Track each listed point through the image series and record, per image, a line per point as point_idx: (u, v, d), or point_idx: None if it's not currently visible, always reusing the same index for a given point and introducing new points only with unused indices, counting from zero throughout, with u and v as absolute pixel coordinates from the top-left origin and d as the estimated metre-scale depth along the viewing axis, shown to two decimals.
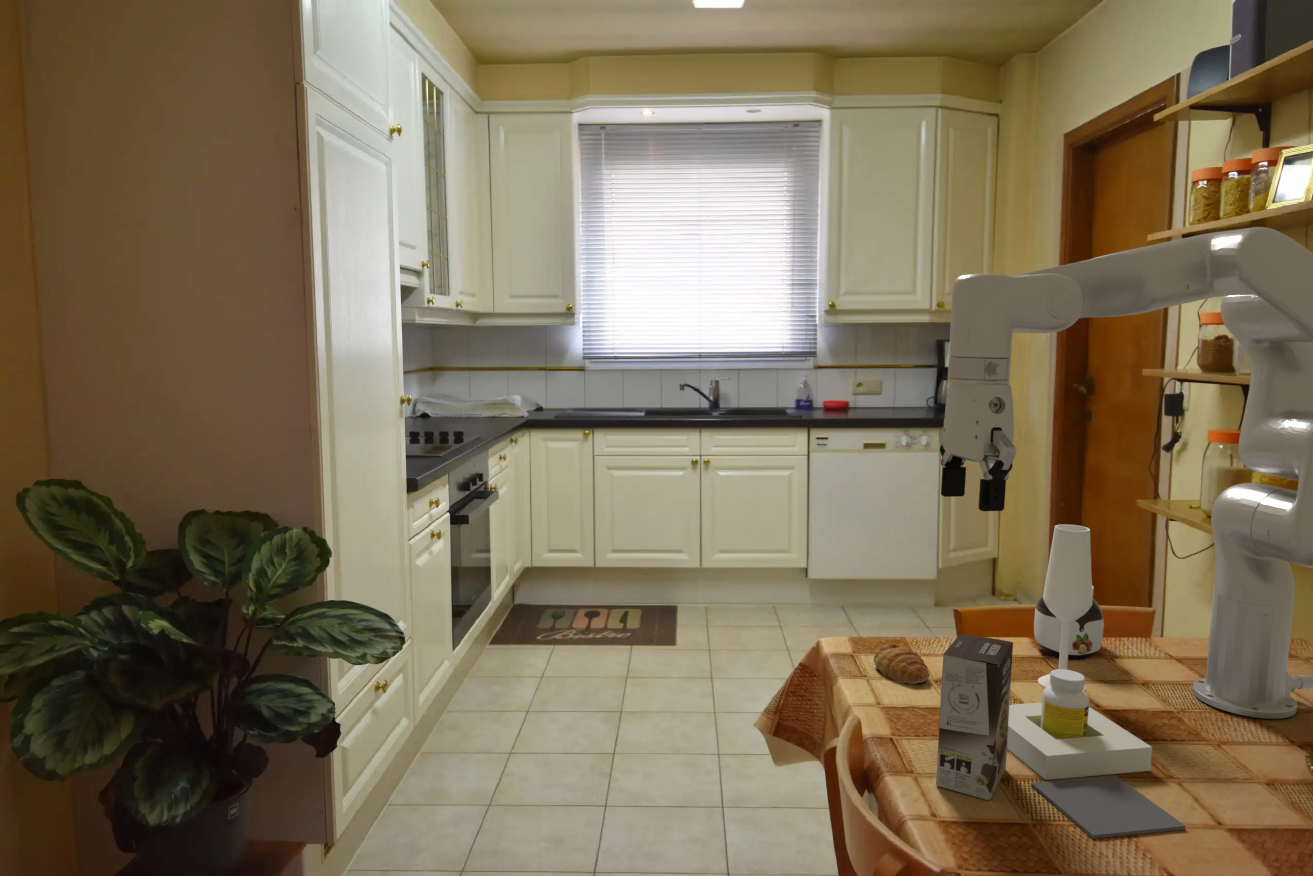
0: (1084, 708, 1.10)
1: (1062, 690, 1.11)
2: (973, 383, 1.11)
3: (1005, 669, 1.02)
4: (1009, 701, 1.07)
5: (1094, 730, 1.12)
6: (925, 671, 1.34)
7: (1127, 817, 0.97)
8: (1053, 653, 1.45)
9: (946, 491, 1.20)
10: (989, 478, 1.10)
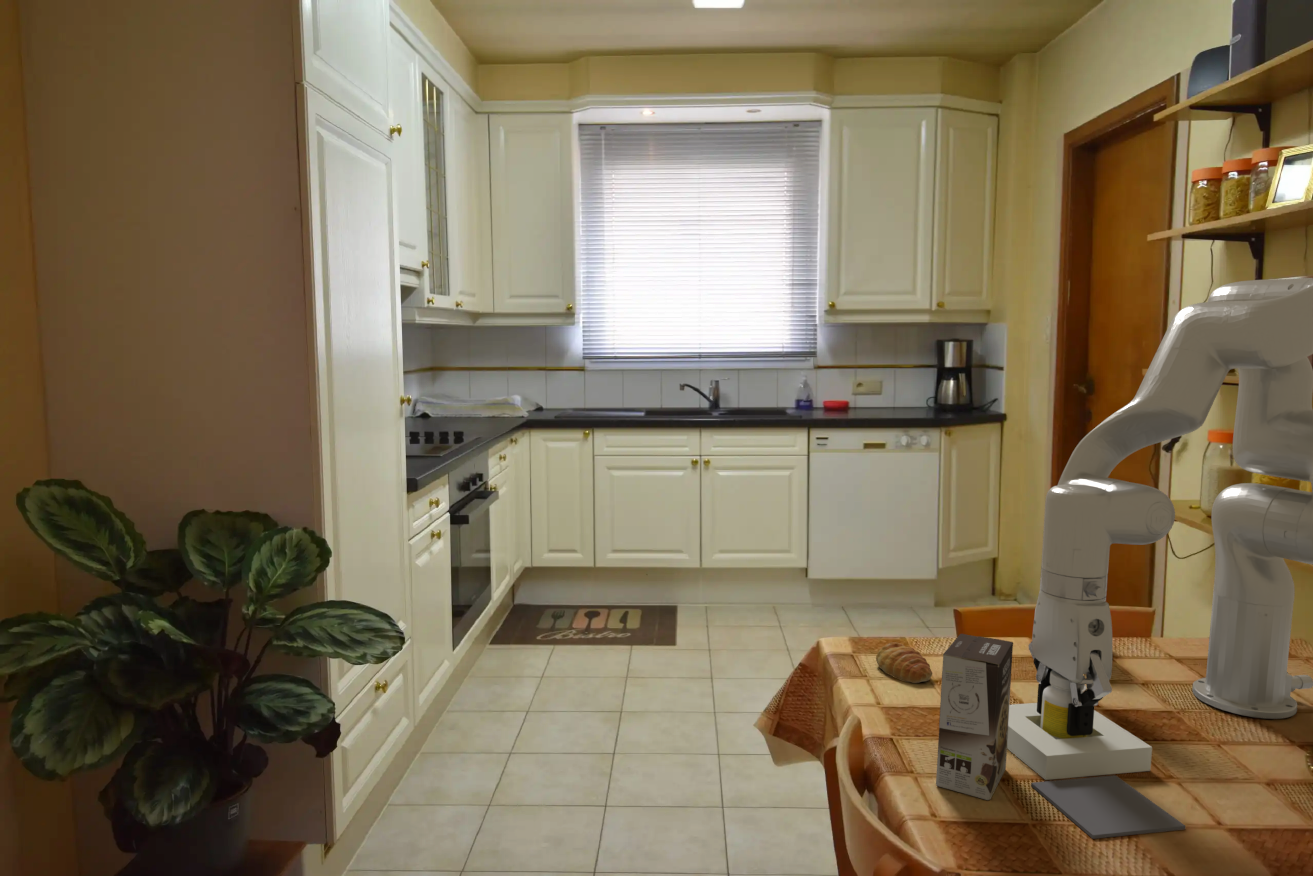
0: None
1: (1062, 690, 1.11)
2: (1070, 602, 1.08)
3: (1005, 669, 1.02)
4: (1009, 701, 1.07)
5: (1094, 730, 1.12)
6: (928, 670, 1.34)
7: (1127, 817, 0.97)
8: None
9: None
10: (1079, 705, 1.08)
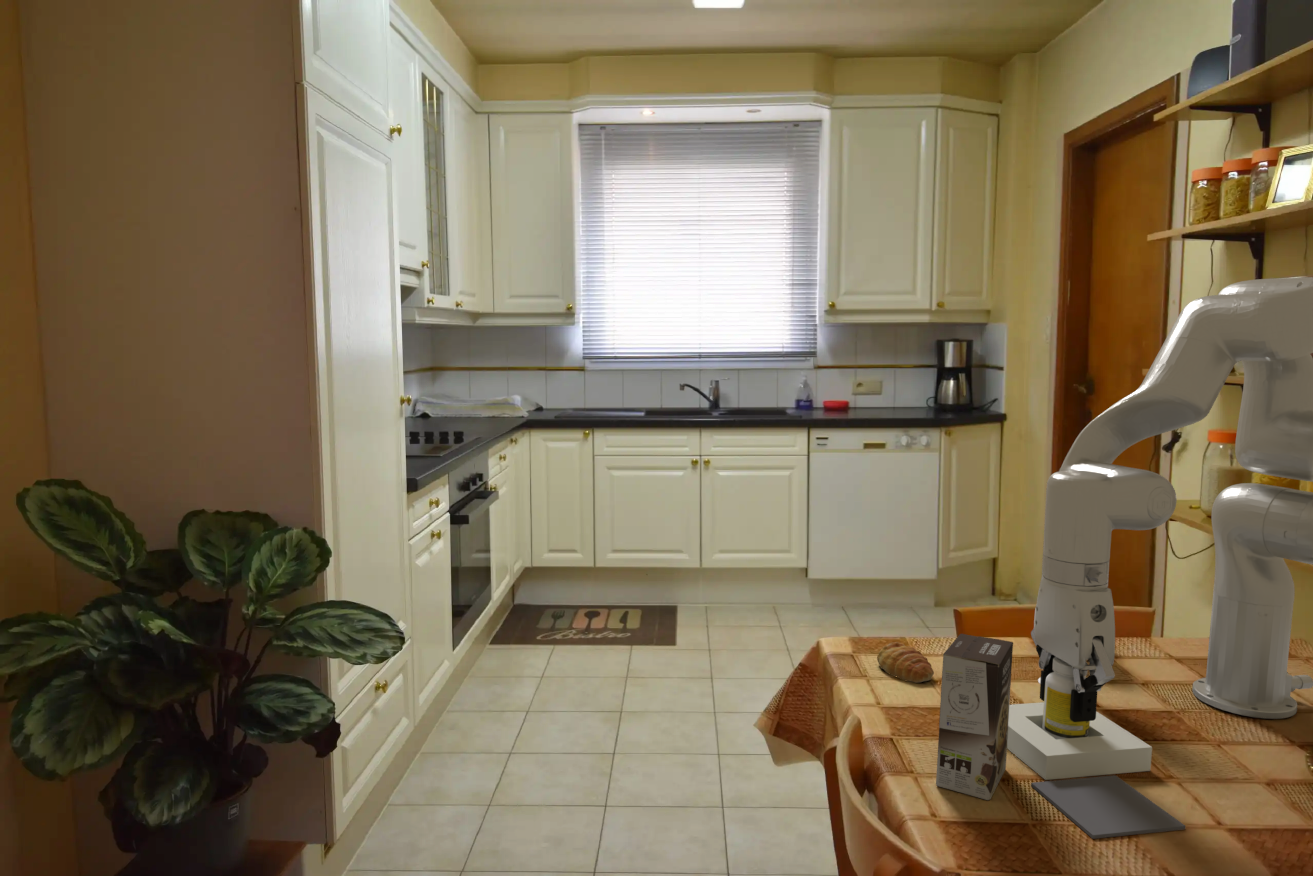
0: None
1: (1065, 677, 1.11)
2: (1072, 588, 1.08)
3: (1005, 669, 1.02)
4: (1009, 701, 1.07)
5: (1094, 730, 1.12)
6: (930, 669, 1.35)
7: (1127, 817, 0.97)
8: None
9: None
10: (1082, 691, 1.08)
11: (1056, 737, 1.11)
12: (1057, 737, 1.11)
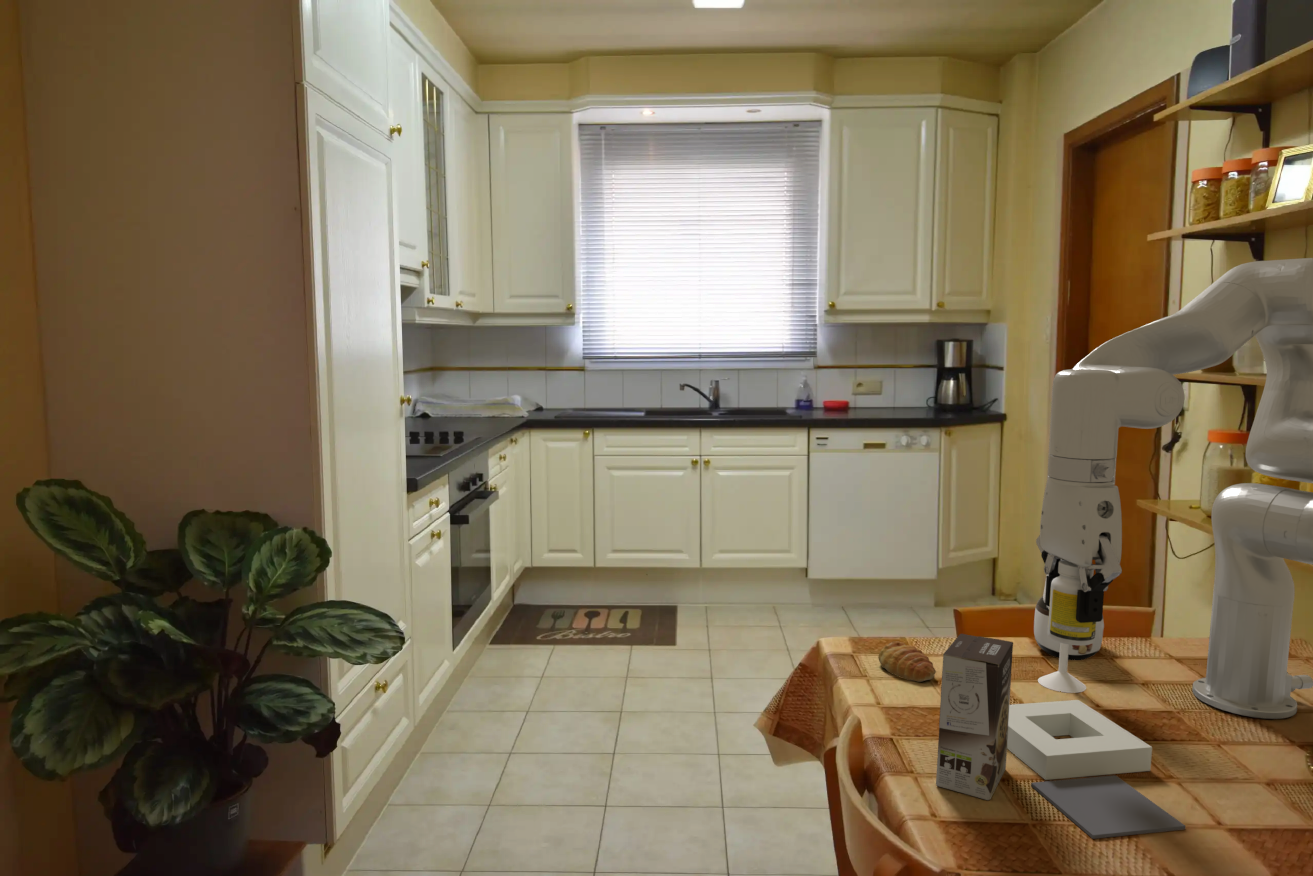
0: None
1: (1070, 578, 1.09)
2: (1079, 485, 1.06)
3: (1005, 669, 1.02)
4: (1009, 701, 1.07)
5: (1094, 730, 1.12)
6: (932, 668, 1.35)
7: (1127, 817, 0.97)
8: (1053, 653, 1.45)
9: None
10: (1088, 590, 1.06)
11: (1062, 640, 1.10)
12: (1063, 640, 1.10)
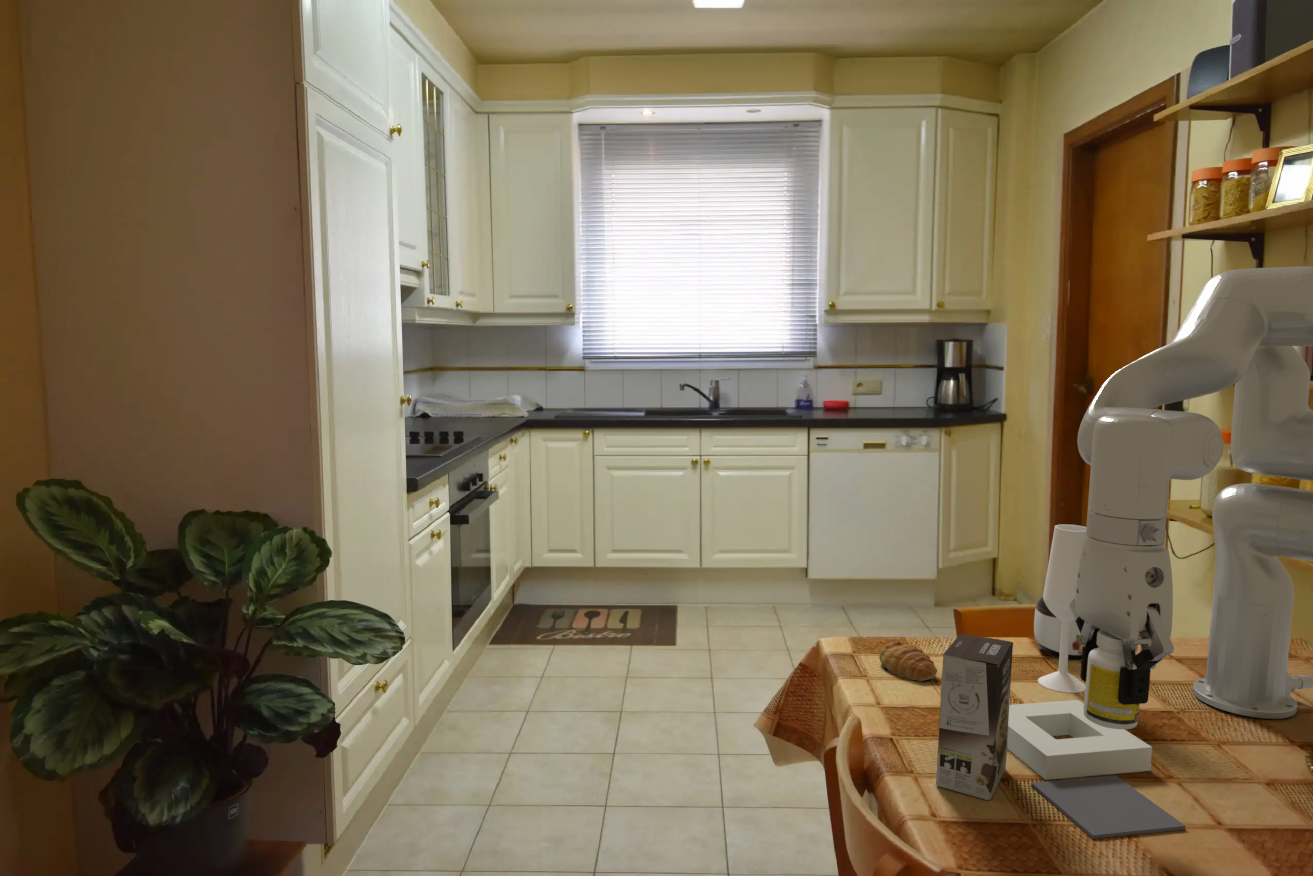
0: None
1: (1112, 652, 0.96)
2: (1124, 549, 0.93)
3: (1005, 669, 1.02)
4: (1009, 701, 1.07)
5: (1094, 730, 1.12)
6: (934, 668, 1.35)
7: (1127, 817, 0.97)
8: (1053, 653, 1.45)
9: None
10: (1133, 669, 0.93)
11: (1101, 722, 0.96)
12: (1102, 722, 0.96)
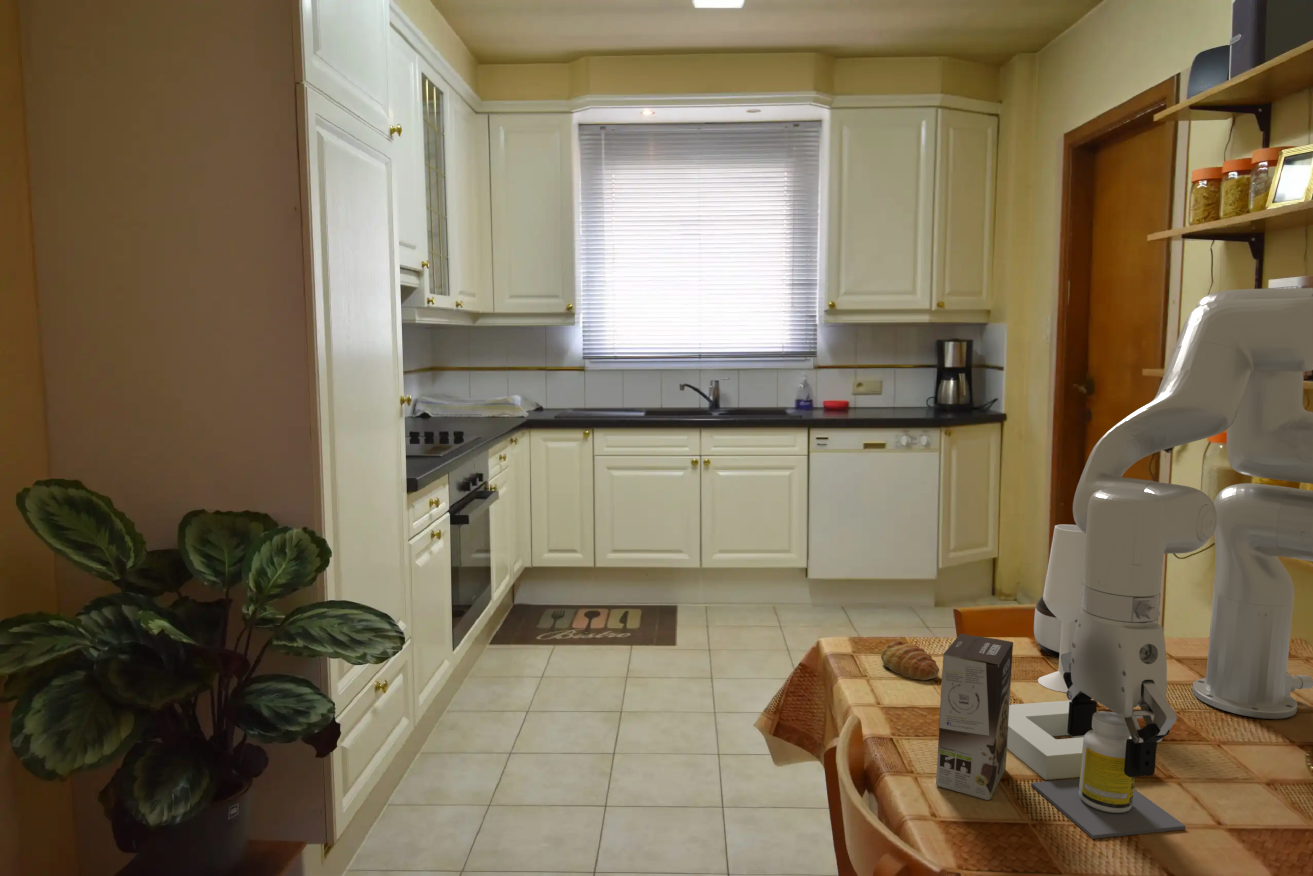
0: None
1: (1107, 737, 0.97)
2: (1118, 625, 0.94)
3: (1005, 669, 1.02)
4: (1009, 701, 1.07)
5: None
6: (936, 667, 1.36)
7: (1127, 817, 0.97)
8: (1053, 653, 1.45)
9: (1074, 731, 1.03)
10: (1139, 742, 0.92)
11: (1096, 806, 0.98)
12: (1097, 806, 0.98)
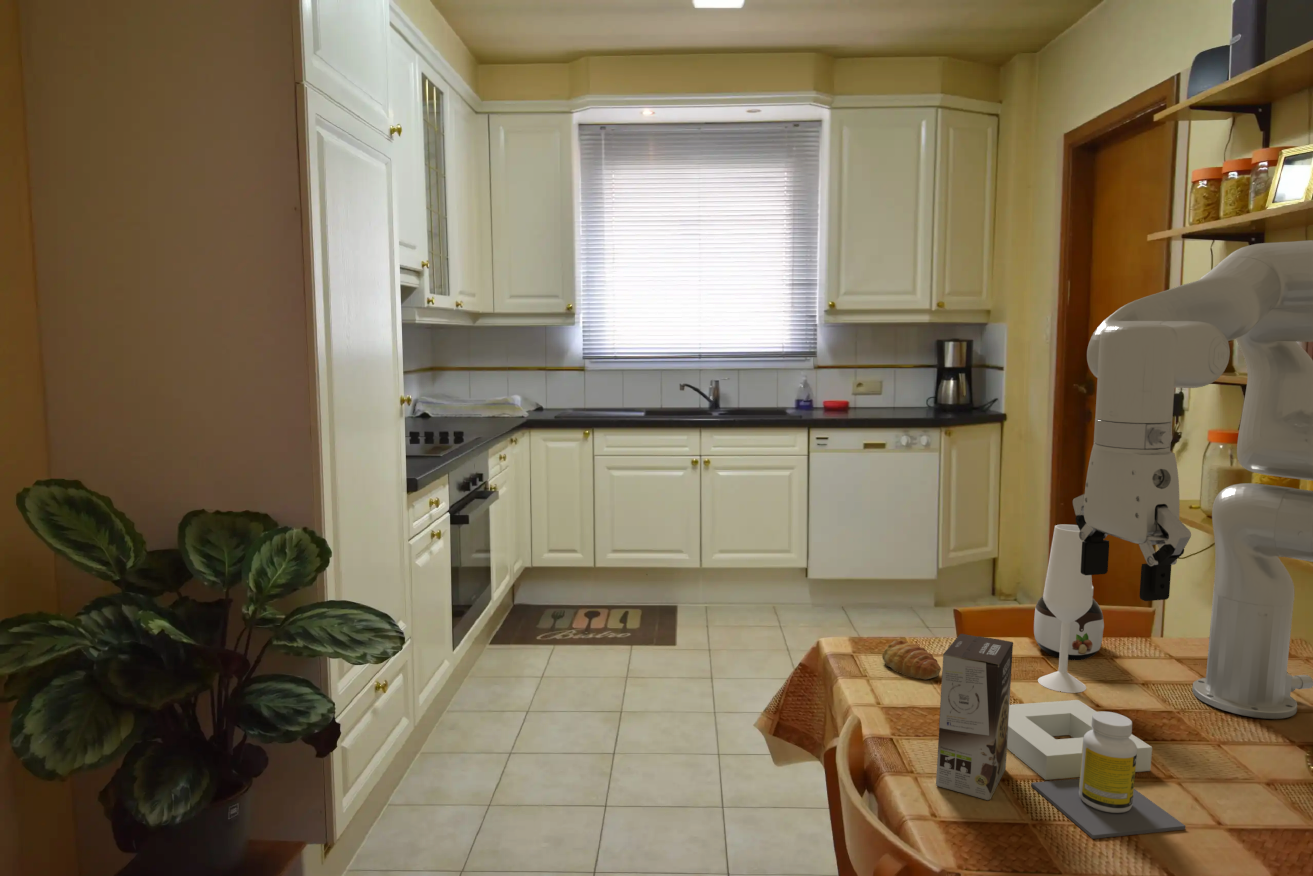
0: (1133, 758, 0.97)
1: (1106, 737, 0.97)
2: (1131, 452, 0.95)
3: (1005, 669, 1.02)
4: (1009, 701, 1.07)
5: None
6: (938, 666, 1.36)
7: (1127, 817, 0.97)
8: (1053, 653, 1.45)
9: (1087, 569, 1.05)
10: (1155, 564, 0.94)
11: (1096, 806, 0.98)
12: (1097, 806, 0.98)
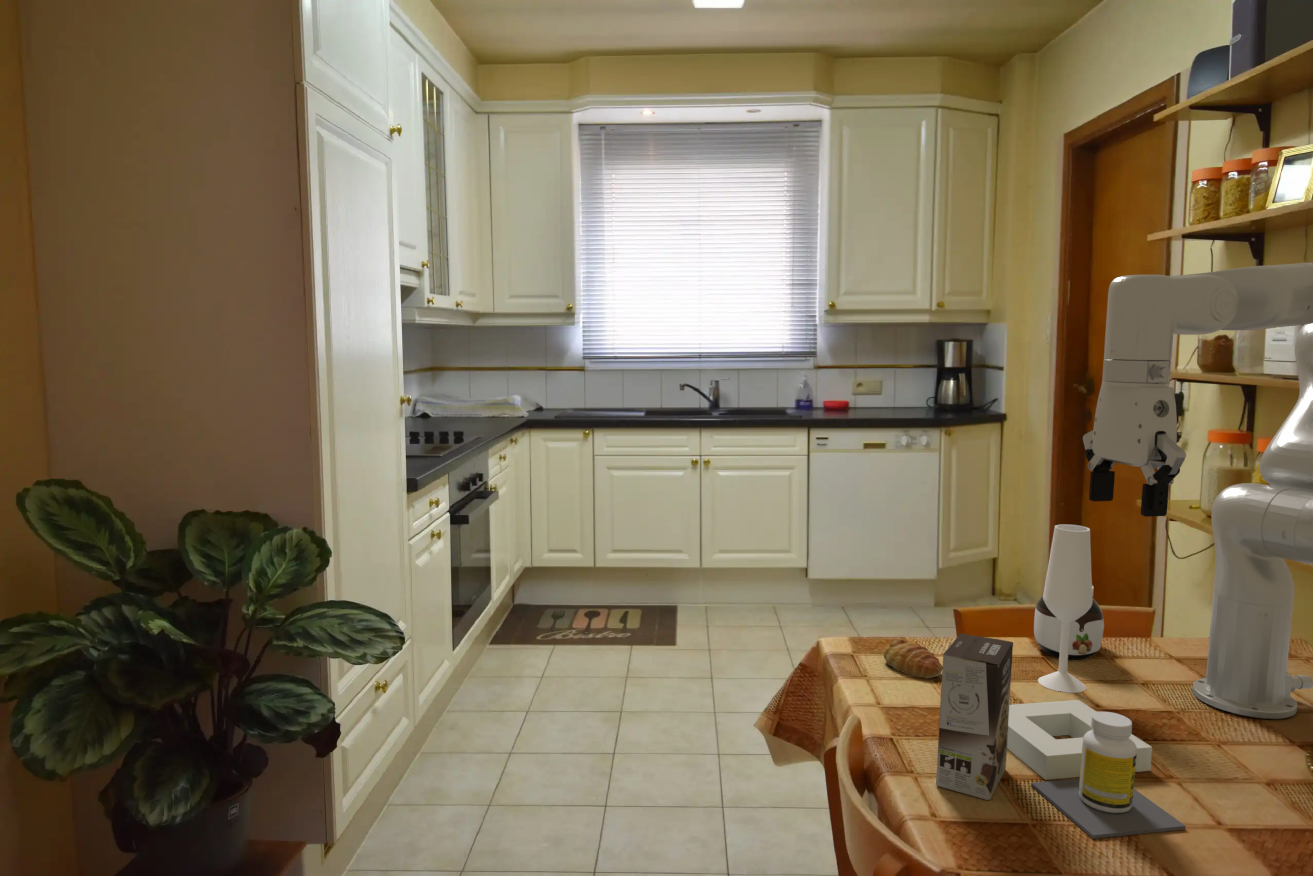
0: (1132, 758, 0.97)
1: (1106, 737, 0.97)
2: (1135, 386, 1.09)
3: (1005, 669, 1.02)
4: (1009, 701, 1.07)
5: None
6: (939, 665, 1.37)
7: (1127, 817, 0.97)
8: (1053, 653, 1.45)
9: (1095, 496, 1.18)
10: (1154, 483, 1.08)
11: (1096, 806, 0.98)
12: (1097, 806, 0.98)
